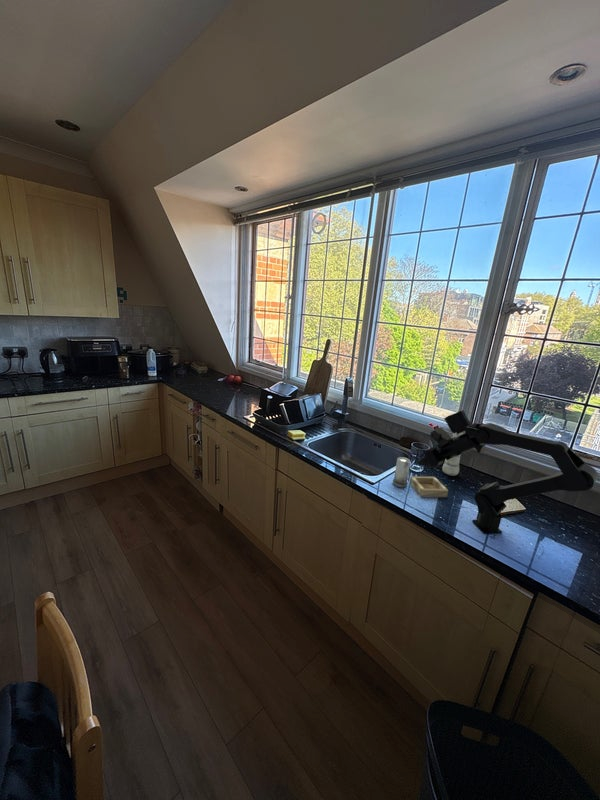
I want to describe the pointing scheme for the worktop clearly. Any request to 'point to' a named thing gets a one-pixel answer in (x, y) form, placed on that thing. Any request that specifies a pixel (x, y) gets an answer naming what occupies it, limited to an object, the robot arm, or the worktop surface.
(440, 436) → the robot arm
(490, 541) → the worktop surface
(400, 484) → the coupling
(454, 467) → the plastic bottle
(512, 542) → the worktop surface
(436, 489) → the square wooden tray
